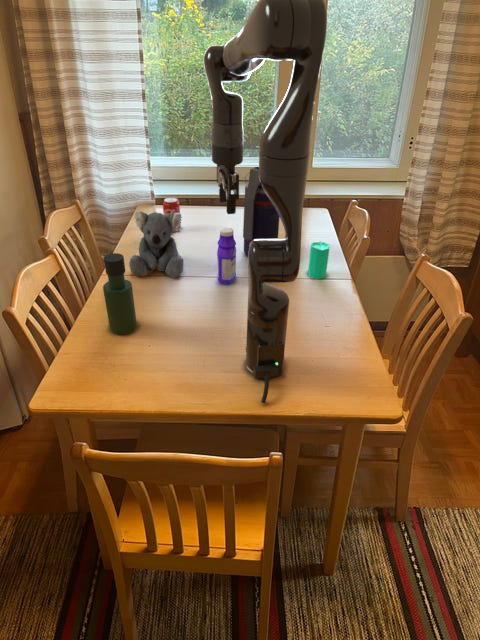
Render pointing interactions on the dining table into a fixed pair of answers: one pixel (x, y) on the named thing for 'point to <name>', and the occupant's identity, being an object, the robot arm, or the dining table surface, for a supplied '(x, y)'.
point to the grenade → (258, 212)
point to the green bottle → (120, 305)
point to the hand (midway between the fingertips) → (227, 207)
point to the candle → (318, 260)
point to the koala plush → (157, 245)
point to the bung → (114, 264)
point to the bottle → (226, 256)
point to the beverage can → (171, 207)
